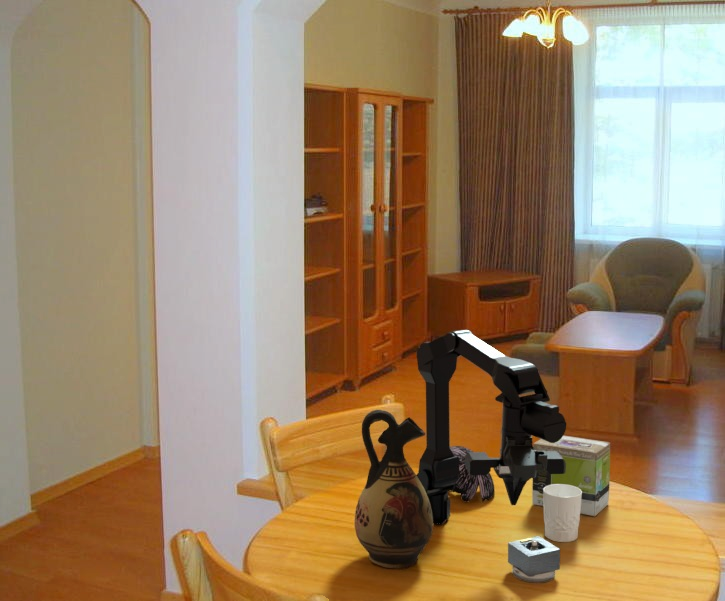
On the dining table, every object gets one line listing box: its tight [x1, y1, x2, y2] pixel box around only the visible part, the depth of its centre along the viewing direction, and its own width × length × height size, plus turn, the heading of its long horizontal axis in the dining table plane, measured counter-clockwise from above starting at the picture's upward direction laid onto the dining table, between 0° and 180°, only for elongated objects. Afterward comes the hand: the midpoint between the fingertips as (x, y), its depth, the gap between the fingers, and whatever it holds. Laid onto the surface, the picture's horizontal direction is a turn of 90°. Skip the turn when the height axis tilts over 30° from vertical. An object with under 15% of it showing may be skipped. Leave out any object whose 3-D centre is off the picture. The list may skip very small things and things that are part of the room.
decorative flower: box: [450, 445, 496, 503], centre depth 228 cm, size 14×12×15 cm
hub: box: [511, 540, 556, 584], centre depth 186 cm, size 8×8×6 cm
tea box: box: [531, 435, 611, 517], centre depth 221 cm, size 15×10×15 cm
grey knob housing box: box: [507, 535, 561, 577], centre depth 186 cm, size 7×7×4 cm
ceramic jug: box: [346, 409, 434, 570], centre depth 191 cm, size 17×15×30 cm
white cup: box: [543, 484, 582, 543], centre depth 203 cm, size 8×8×10 cm
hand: (513, 504), depth 191 cm, fingers closed
